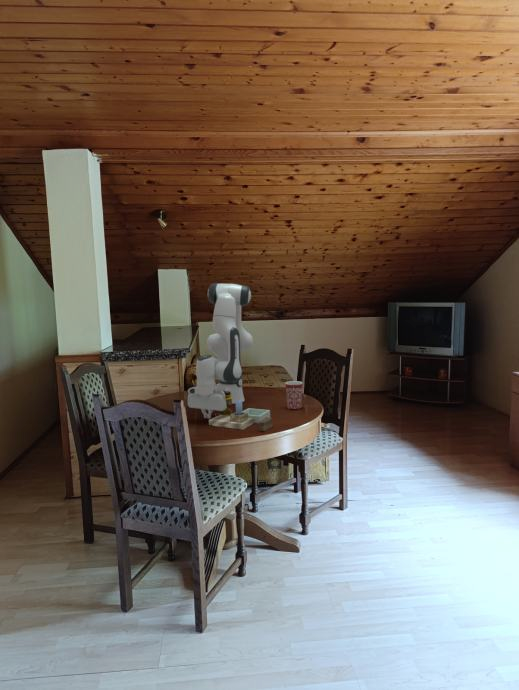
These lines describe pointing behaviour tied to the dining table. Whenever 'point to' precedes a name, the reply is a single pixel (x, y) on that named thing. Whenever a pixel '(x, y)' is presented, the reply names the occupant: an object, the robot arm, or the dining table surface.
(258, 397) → the dining table surface
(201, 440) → the dining table surface
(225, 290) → the robot arm
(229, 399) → the condiment
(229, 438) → the dining table surface
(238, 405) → the dowel
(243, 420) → the board
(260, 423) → the block
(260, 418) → the tray
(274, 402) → the dining table surface
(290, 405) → the mug
